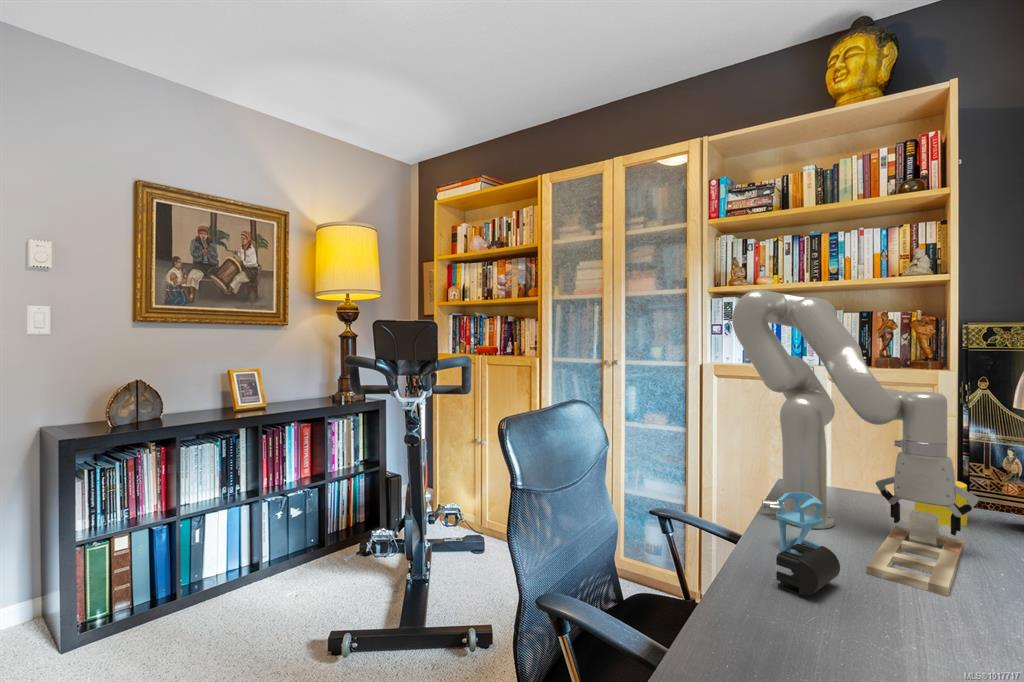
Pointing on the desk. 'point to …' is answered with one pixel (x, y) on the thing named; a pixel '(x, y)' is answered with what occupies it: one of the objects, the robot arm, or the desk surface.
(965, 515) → the tape roll
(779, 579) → the power tool battery
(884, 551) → the hole rail
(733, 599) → the desk surface
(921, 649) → the desk surface
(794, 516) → the chair
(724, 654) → the desk surface
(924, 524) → the steel block
